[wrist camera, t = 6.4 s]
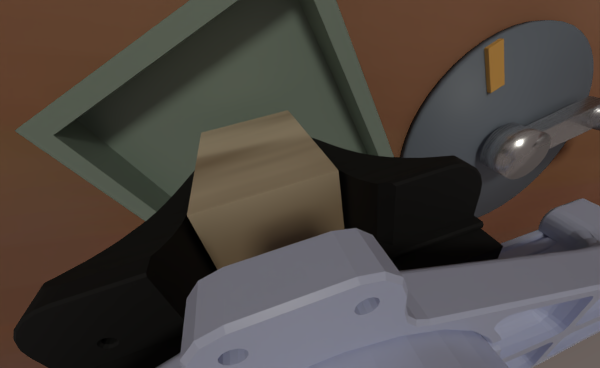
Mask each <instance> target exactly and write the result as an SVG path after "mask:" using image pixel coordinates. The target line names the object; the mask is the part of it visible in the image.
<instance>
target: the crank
mask: <svg viewBox="0 0 600 368" xmlns="http://www.w3.org/2000/svg"><path fill="white" fill-rule="evenodd" d="M590 129H596V130H599V131H600V98H598V97H592V96H588V97H586V98H584V99H581V100H579V101H577V102H575V103H573V104H571V105H569V106H567V107H564V108H562V109H560V110H558V111H556V112H554V113H552V114H550V115H547V116H545V117H543V118H541V119H539V120H537V121H535V122H533V123H530V124H528V125H526V126H524V125H521V124H518V123H508V124H505V125H503V126H501V127H500V128H498V129H497V130H496V131H494V132H493V133H492V134H491V135H490V137H489V138H488V139H487V140H486V142H485V143H484V145H483V147H482V150H481V153H480V161H481V163H482V164H483V165H484V166H486V167H488V168H490V169H491V170H493V171H495V172H497V173H499V174H501V175H503V176H505V177H506V178H508V179H518V178H521V177H523V176H525V175H527V174H528V173H530V172H531V171H532V170H533V169H535V168H536V167H537V166H538V165H539V164H540V162H541V161H542V160H543V159H544V157H545V156H546V154H547V152H548V150H549V149H550V148H552V147H554V146H556V145H558V144H561V143H563V142H565V141H567V140H569V139H571V138H573V137H575V136H577V135H580V134H582V133H584V132H586V131H588V130H590Z"/></svg>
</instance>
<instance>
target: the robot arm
mask: <svg viewBox="0 0 600 368" xmlns="http://www.w3.org/2000/svg"><path fill="white" fill-rule="evenodd" d="M312 139H313V141H314V142H315V143H316V144H317V145H318V146H319V148H320V149H321V150H322V151H323V152H324V154H325V155H326V156H327V157H328V158H329V160H330V161H331V162H332V163H333V164H334V166H335V167H336V168H337V169H338V171H339V181H340V191H341V201H342V211H343V221H344V230H336V231H330V232H327V233H324V234H321V235H318V236H315V237H312V238H309V239H306V240H303V241H300V242H297V243H294V244H291V245H288V246H285V247H282V248H279V249H276V250H273V251H270V252H267V253H264V254H261V255H258V256H255V257H251V258H248V259H245V260H242V261H239V262H236V263H233V264H230V265H227V266H224V267H222V268H220V269H219V270H217V268H216V266H215V265H214V263H213V261H212V259H211V257H210V256H209V254H208V252H207V250H206V249H205V247H204V245H203V243H202V241H201V240H200V238H199V236H198V234H197V233H196V231H195V229H194V227H193V226H192V224H191V222H190V220H189V218H188V217H187V212H188V206H189V200H190V195H191V189H192V183H193V177H194V172H193V173H192V174H191V175H190V176H189V177H188V179H187V180H186V181H185V182H184V183H183V184H182V186H181V187H180V188H179V189H178V190H177V191H176V193H175V194H174V195H173V196H172V197H171V198H170V199H169V200H168V201H167V202H166V203H165V204H164V205H163V206H162V207H161V208H160V209H159V210H158V211H157V212H156V213H155V214H154V215H152V216H151V217H150V218H149V219H148V220H146V221H145V222H144V223H143V224H142V225H140V226H139V227H138V228H136V229H135V230H133V231H132V232H131V233H129V234H128V235H127V236H125V237H124V238H122V239H121V240H120V241H118V242H117V243H115V244H114V245H112V246H110V247H109V248H107V249H106V250H104V251H102V252H101V253H99V254H97V255H96V256H94V257H92V258H91V259H89V260H87V261H85V262H84V263H82V264H80V265H78V266H76V267H74V268H72V269H71V270H69V271H67V272H65V273H63V274H61V275H59V276H57V277H55V278H54V279H52V280H50V281H47V282H45V283H44V284H43V286H42V287H41V289H40V290H39V292H38V293H37V295H36V296H35V298H34V299H33V301H32V302H31V304H30V305H29V307H28V309H27V310H26V312H25V313H24V315H23V316H22V318H21V319H20V321H19V322H18V324H17V325H16V327H15V328H14V341H15V343H16V344H17V346H18V348H19V349H20V351H22V352H23V353H24V354H26V355H27V356H28V357H30V358H32V359H33V360H35V361H37V362H39V363H41V364H43V365H45V366H46V367H48V368H533V367H534V366H536V365H538V364H540V363H542V362H544V361H546V360H547V359H549V358H551V357H553V356H555V355H556V354H558V353H560V352H562V351H564V350H566V349H567V348H569V347H571V346H573V345H575V344H577V343H579V342H581V341H583V340H584V339H586V338H588V337H590V336H592V335H594V334H596V333H598V332H600V206H598V205H596V204H594V203H592V202H590V201H588V200H586V199H578V200H575V201H572V202H570V203H567V204H564V205H561V206H559V207H556V208H554V209H552V210H550V211H549V212H548V213H547V214H545V216H544V217H543V219H542V220H541V222H540V225H539V230H536V231H533V232H531V233H528V234H525V235H523V236H520V237H517V238H515V239H512V240H509V241H507V242H504V243H501V244H500V243H499V242H497V241H496V240H495V239H493V238H492V237H491V236H490V235H488V234H487V233H486V232H484V231H483V230H482V229H481V228H482V227H483V225H484V224H483V222H482V221H481V220H479V219H478V218H477V217H475V216H474V213H475V210H476V206H477V203H478V200H479V196H480V193H481V187H482V179H481V174H480V172H479V171H478V169H477V168H475V167H474V166H472V165H470V164H469V163H467V162H465V161H463V160H462V159H460V158H458V157H456V156H454V155H452V156H439V157H426V158H398V157H384V156H375V155H369V154H363V153H358V152H354V151H350V150H347V149H343V148H340V147H337V146H334V145H331V144H328V143H326V142H323V141H320V140H318V139H315V138H312Z"/></svg>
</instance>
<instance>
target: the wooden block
mask: <svg viewBox="0 0 600 368" xmlns="http://www.w3.org/2000/svg"><path fill="white" fill-rule="evenodd" d="M187 217H188V218H189V220H190V222H191V224H192V226H193V227H194V229H195V231H196V233H197V234H198V236H199V238H200V240H201V241H202V243H203V245H204V247H205V249H206V250H207V252H208V254H209V256H210V257H211V259H212V261H213V263H214V265H215V266H216V268H217V270H219V269H220V268H222V267H224V266H227V265H230V264H233V263H236V262H239V261H242V260H245V259H248V258H251V257H255V256H258V255H261V254H264V253H267V252H270V251H273V250H276V249H279V248H282V247H285V246H288V245H291V244H294V243H297V242H300V241H303V240H306V239H309V238H312V237H315V236H318V235H321V234H324V233H327V232H330V231H336V230H344V221H343V211H342V201H341V191H340V181H339V171H338V169H337V168H336V167H335V166H334V164H333V163H332V162H331V161H330V160H329V158H328V157H327V156H326V155H325V154H324V152H323V151H322V150H321V149H320V148H319V146H318V145H317V144H316V143H315V142H314V141H313V139H312V138H311V137H310V136H309V135H308V133H307V132H306V131H305V130H304V129H303V127H302V126H301V125H300V124H299V123H298V122H297V120H296V119H295V118H294V117H293V116H292V114H291V113H290V112H289V111H288V110H287V111H283V112H279V113H275V114H271V115H267V116H263V117H260V118H256V119H252V120H248V121H244V122H240V123H237V124H233V125H229V126H225V127H221V128H217V129H213V130H210V131H206V132H202V133H201V137H200V143H199V148H198V154H197V160H196V166H195V171H194V177H193V183H192V189H191V195H190V200H189V206H188V212H187Z"/></svg>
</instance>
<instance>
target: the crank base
mask: <svg viewBox="0 0 600 368" xmlns="http://www.w3.org/2000/svg"><path fill="white" fill-rule="evenodd" d="M592 77H593V56H592V50H591V47H590V45H589V42H588V40H587V38H586V37H585V36H584V34H583V33H582V32H581V31H580V30H579V29H577V28H576V27H575V26H573V25H571V24H568V23H565V22H561V21H553V20H541V21H530V22H525V23H521V24H518V25H514V26H511V27H509V28H507V29H504V30H502V31H500V32H498V33H496V34H494V35H493V36H491V37H489V38H487V39H486V40H484V41H482V42H481V43H480V44H478V45H477V46H476V47H474V48H473V49H472V50H470V51H469V52H468V53H466V54H465V55H464V56H463V57H462V58H461V59H460V60H459V61H457V62H456V63H455V64H454V65H453V66H452V67H451V68H450V69H449V70H448V72H447V73H446V74H445V75H444V76H443V77H442V78H441V79H440V80H439V82H438V83H437V84H436V85H435V87H434V88H433V89H432V91H431V92H430V93H429V95H428V96H427V98H426V99H425V101H424V102H423V104H422V105H421V107H420V108H419V110H418V112H417V114H416V116H415V118H414V120H413V122H412V123H411V126H410V128H409V131H408V133H407V135H406V138H405V141H404V144H403V148H402V151H401V156H400V158H426V157H439V156H452V155H454V156H456V157H458V158H460V159H462V160H463V161H465V162H467V163H469V164H470V165H472V166H474V167H475V168H477V169H478V171H479V172H480V174H481V179H482V187H481V193H480V196H479V200H478V203H477V206H476V210H475V213H474V216H475V217H477V218H478V217H480V216H482V215H484V214H487V213H489V212H491V211H492V210H494V209H496V208H498V207H500V206H501V205H503V204H504V203H506V202H507V201H509V200H510V199H512V198H513V197H514V196H516V195H517V194H518V193H520V192H521V191H522V190H523V189H524V188H525V187H527V186H528V185H529V184H530V183H531V182H532V181H533V180H534V179H535V178H536V177H537V176H538V175H539V174H540V173H541V172H542V171H543V170H544V169H545V168H546V167H547V166H548V165H549V163H550V162H551V161H552V160H553V159H554V157H555V156H556V155H557V154H558V152H559V151H560V150H561V148H562V147H563V145H564V144H565V142H566V141H565V142H563V143H561V144H558V145H556V146H554V147H552V148H550V149H549V150H548V152H547V154H546V156H545V157H544V159H543V160H542V161H541V162H540V164H539V165H538V166H537V167H536V168H535V169H533V170H532V171H531V172H530V173H528V174H527V175H525V176H523V177H521V178H518V179H508V178H506V177H505V176H503V175H501V174H499V173H497V172H495V171H493V170H491V169H490V168H488V167H486V166H484V165H483V164H482V163H481V161H480V153H481V150H482V147H483V145H484V143H485V142H486V140H487V139H488V138H489V137H490V135H491V134H492V133H493V132H494V131H496V130H497V129H498V128H500V127H501V126H503V125H505V124H508V123H518V124H521V125H524V126H526V125H528V124H530V123H533V122H535V121H537V120H539V119H541V118H543V117H545V116H547V115H550V114H552V113H554V112H556V111H558V110H560V109H562V108H564V107H567V106H569V105H571V104H573V103H575V102H577V101H579V100H581V99H584V98H586V97H588V96H589V92H590V88H591V84H592Z"/></svg>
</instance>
